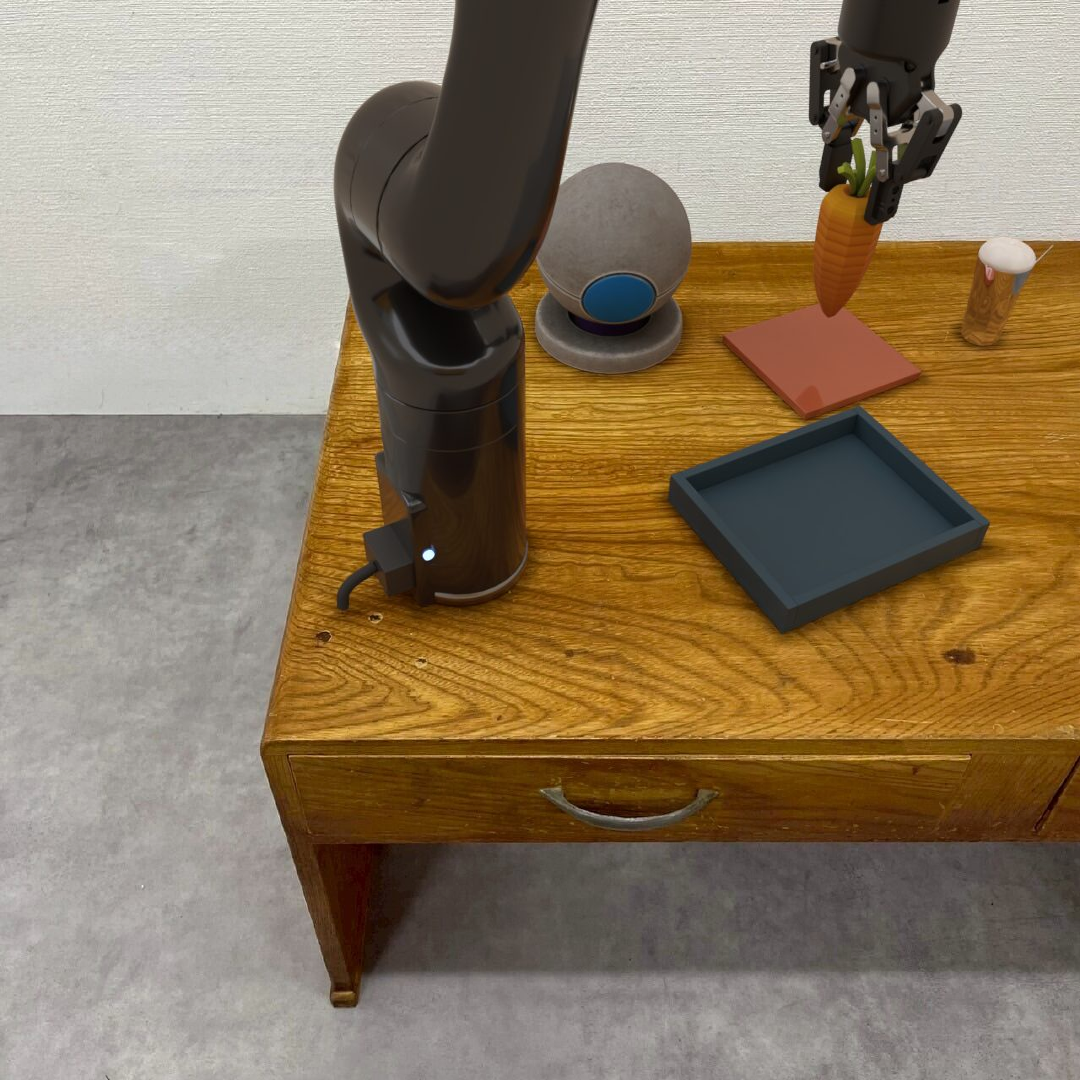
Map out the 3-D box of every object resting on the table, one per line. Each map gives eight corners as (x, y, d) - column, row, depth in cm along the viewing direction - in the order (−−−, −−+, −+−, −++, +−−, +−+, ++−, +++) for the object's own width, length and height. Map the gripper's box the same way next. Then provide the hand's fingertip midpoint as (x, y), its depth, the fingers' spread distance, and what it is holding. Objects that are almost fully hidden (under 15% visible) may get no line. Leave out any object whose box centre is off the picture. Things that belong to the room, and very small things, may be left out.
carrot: (858, 337, 91) (902, 166, 80) (797, 330, 92) (832, 159, 81) (859, 303, 94) (901, 134, 84) (799, 296, 95) (833, 127, 84)
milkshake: (1007, 360, 96) (1045, 259, 89) (946, 340, 98) (978, 239, 91) (1021, 333, 99) (1059, 233, 92) (961, 314, 101) (994, 215, 94)
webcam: (671, 287, 104) (687, 133, 93) (691, 372, 95) (711, 213, 84) (531, 291, 103) (531, 136, 92) (538, 377, 95) (539, 217, 84)
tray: (782, 634, 75) (788, 609, 74) (667, 499, 84) (670, 474, 82) (980, 547, 81) (991, 522, 79) (853, 429, 90) (860, 404, 88)
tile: (804, 420, 91) (806, 413, 90) (721, 341, 98) (722, 334, 98) (919, 378, 95) (922, 371, 94) (831, 305, 102) (833, 298, 101)
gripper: (795, -57, 76) (759, 174, 89) (937, 18, 68) (875, 263, 80) (882, -74, 79) (835, 153, 91) (1030, -4, 70) (956, 237, 82)
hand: (854, 203), depth 86 cm, fingers closed on carrot, 5 cm apart
